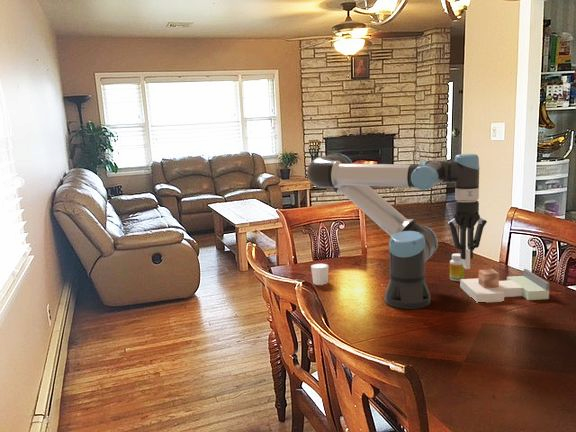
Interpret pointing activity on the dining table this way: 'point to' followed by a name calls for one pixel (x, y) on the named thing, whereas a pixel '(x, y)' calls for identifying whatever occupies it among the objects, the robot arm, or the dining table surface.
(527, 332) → the dining table surface
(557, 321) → the dining table surface
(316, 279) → the white cup
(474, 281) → the board
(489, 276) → the block
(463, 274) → the supplement bottle
